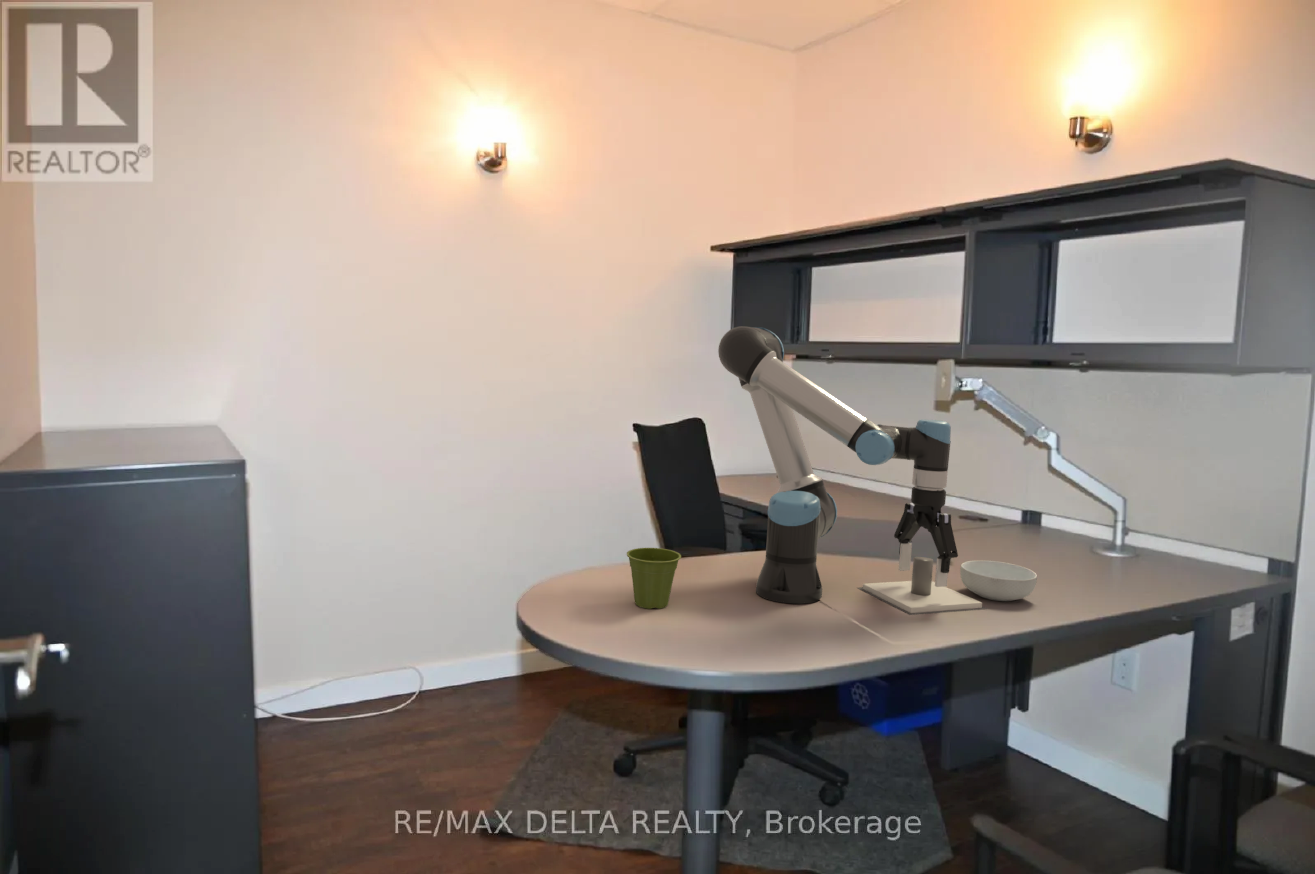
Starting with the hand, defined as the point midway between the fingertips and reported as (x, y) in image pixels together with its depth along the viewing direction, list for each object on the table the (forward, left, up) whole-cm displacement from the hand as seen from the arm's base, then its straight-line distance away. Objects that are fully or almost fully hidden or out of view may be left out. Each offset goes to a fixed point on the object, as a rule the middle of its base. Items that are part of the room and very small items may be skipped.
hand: (921, 578), depth 199 cm
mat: (0, 0, -5) cm, 5 cm away
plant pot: (-63, +9, -6) cm, 64 cm away
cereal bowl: (+20, -2, -6) cm, 21 cm away
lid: (0, 0, -5) cm, 5 cm away
